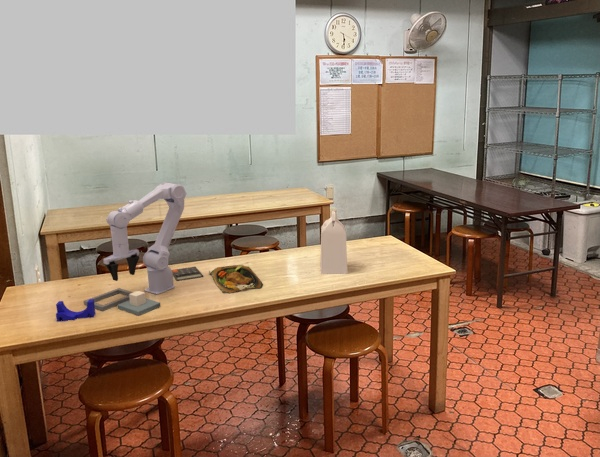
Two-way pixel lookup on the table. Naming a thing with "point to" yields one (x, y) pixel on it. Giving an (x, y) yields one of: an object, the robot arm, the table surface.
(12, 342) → the table surface
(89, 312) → the cable clip
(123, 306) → the slate pad
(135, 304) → the cream block
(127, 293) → the pocket frame
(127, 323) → the table surface
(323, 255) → the milk
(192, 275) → the calculator
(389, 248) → the table surface
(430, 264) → the table surface
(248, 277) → the prepared meal
